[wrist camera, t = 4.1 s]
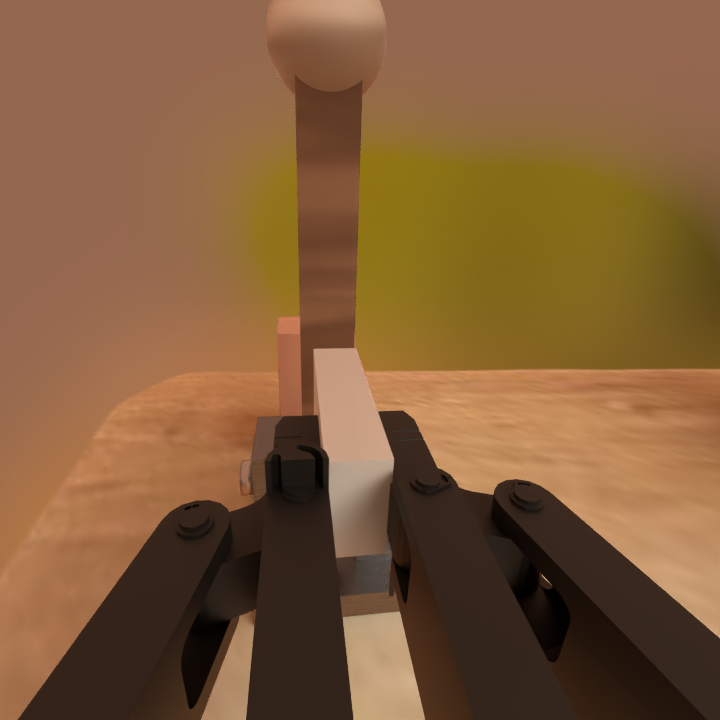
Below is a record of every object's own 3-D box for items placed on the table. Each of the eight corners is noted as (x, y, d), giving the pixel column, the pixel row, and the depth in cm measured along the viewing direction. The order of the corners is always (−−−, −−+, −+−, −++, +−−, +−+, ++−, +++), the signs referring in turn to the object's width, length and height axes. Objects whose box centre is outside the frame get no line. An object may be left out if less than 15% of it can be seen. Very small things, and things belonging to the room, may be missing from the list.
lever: (371, 513, 22) (403, -62, 13) (283, 519, 22) (257, -78, 13) (359, 461, 26) (378, -7, 17) (285, 465, 26) (266, -18, 17)
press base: (413, 609, 23) (428, 477, 20) (241, 626, 22) (227, 490, 18) (364, 427, 39) (368, 339, 36) (265, 431, 38) (260, 341, 35)
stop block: (352, 439, 35) (355, 333, 31) (281, 442, 34) (276, 333, 31) (347, 413, 38) (349, 316, 35) (282, 416, 38) (278, 316, 34)
